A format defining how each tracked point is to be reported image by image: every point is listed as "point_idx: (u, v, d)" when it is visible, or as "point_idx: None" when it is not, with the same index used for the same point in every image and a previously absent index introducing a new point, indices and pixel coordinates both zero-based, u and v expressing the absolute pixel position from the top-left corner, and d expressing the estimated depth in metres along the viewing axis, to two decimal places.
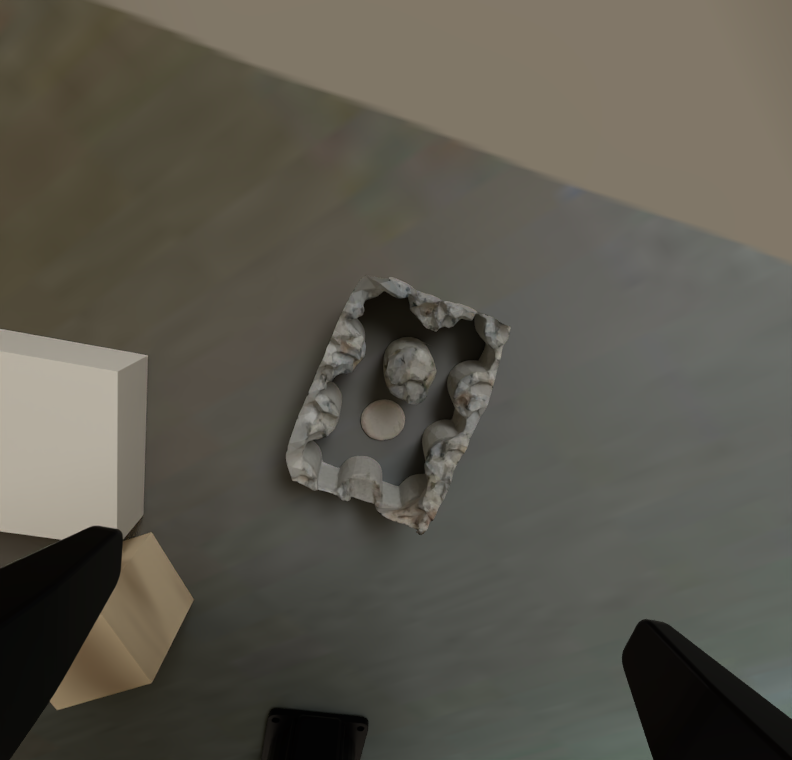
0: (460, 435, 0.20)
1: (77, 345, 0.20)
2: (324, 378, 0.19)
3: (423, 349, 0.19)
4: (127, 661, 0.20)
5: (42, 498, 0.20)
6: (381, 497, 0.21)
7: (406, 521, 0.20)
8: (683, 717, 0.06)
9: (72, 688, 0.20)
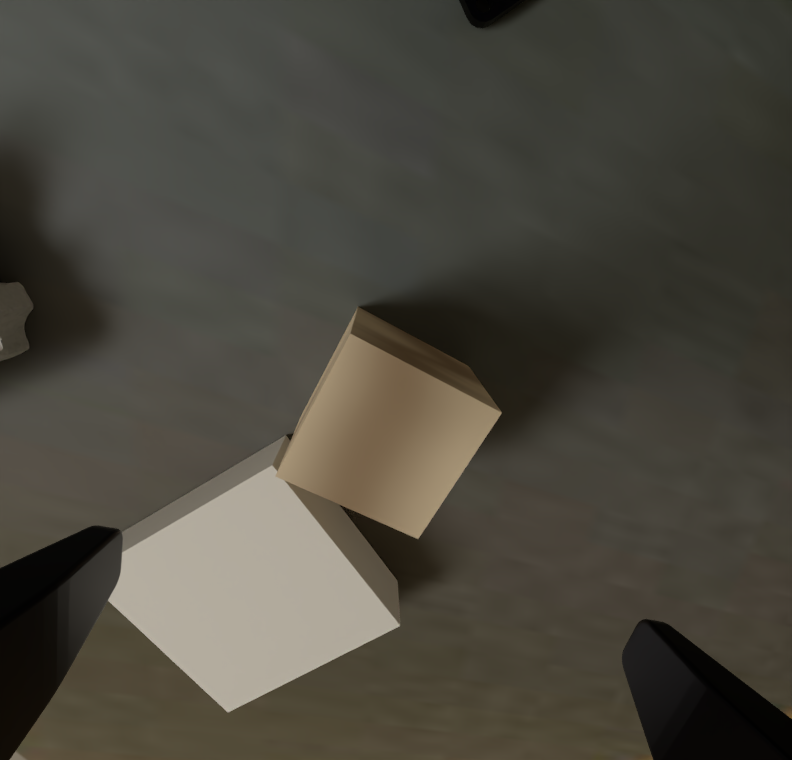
0: None
1: None
2: None
3: None
4: (335, 388, 0.12)
5: (277, 554, 0.17)
6: None
7: None
8: (683, 717, 0.06)
9: (443, 419, 0.13)
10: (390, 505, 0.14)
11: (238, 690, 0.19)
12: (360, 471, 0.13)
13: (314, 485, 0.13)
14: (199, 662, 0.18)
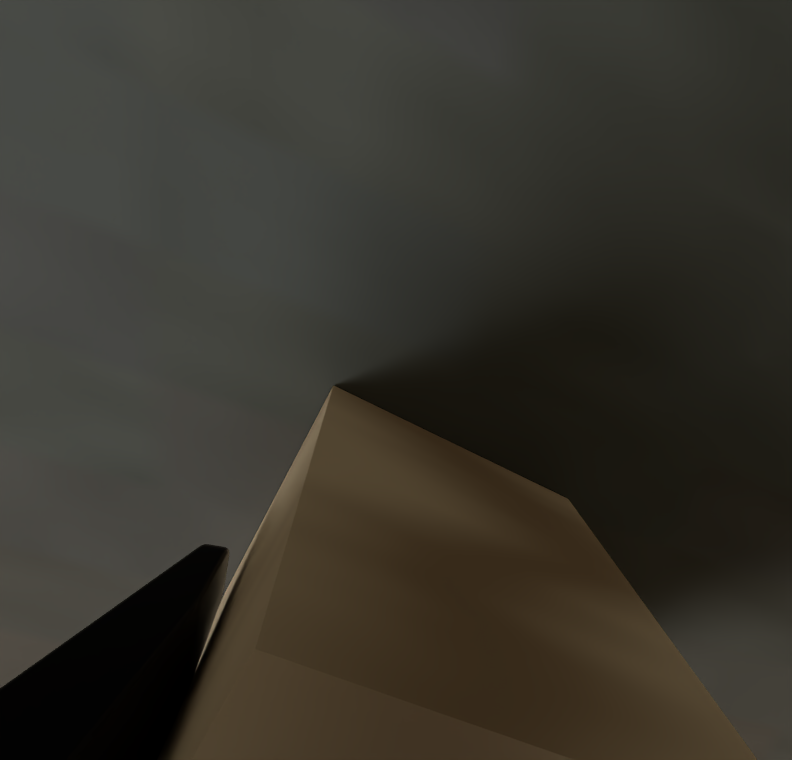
0: None
1: None
2: None
3: None
4: None
5: None
6: None
7: None
8: None
9: None
10: None
11: None
12: None
13: None
14: None
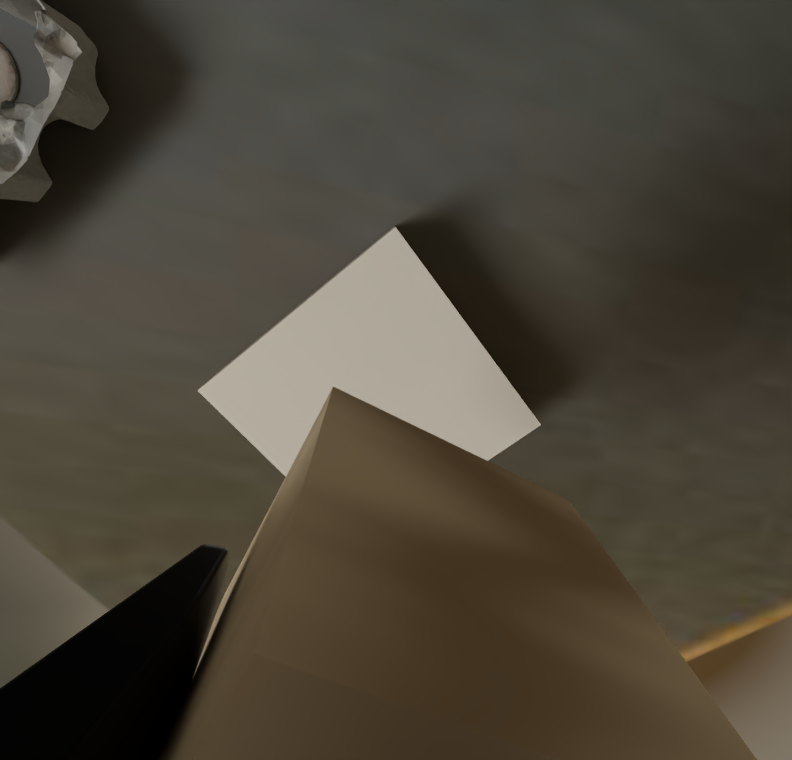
0: None
1: None
2: None
3: None
4: None
5: (404, 344, 0.15)
6: None
7: None
8: None
9: None
10: None
11: None
12: None
13: None
14: None
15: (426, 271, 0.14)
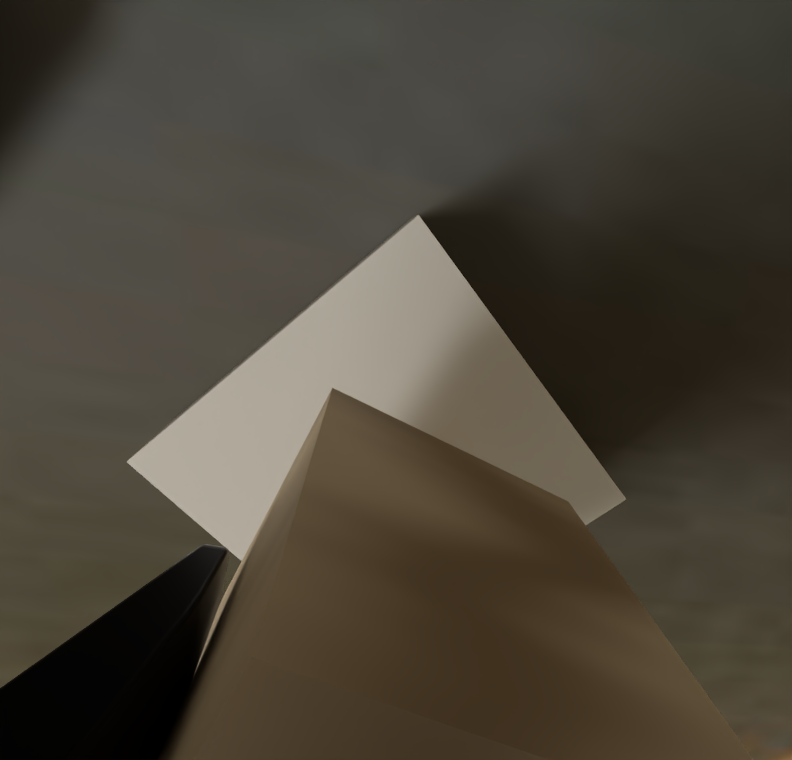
0: None
1: None
2: None
3: None
4: None
5: (431, 390, 0.10)
6: None
7: None
8: None
9: None
10: None
11: None
12: None
13: None
14: None
15: (465, 282, 0.10)
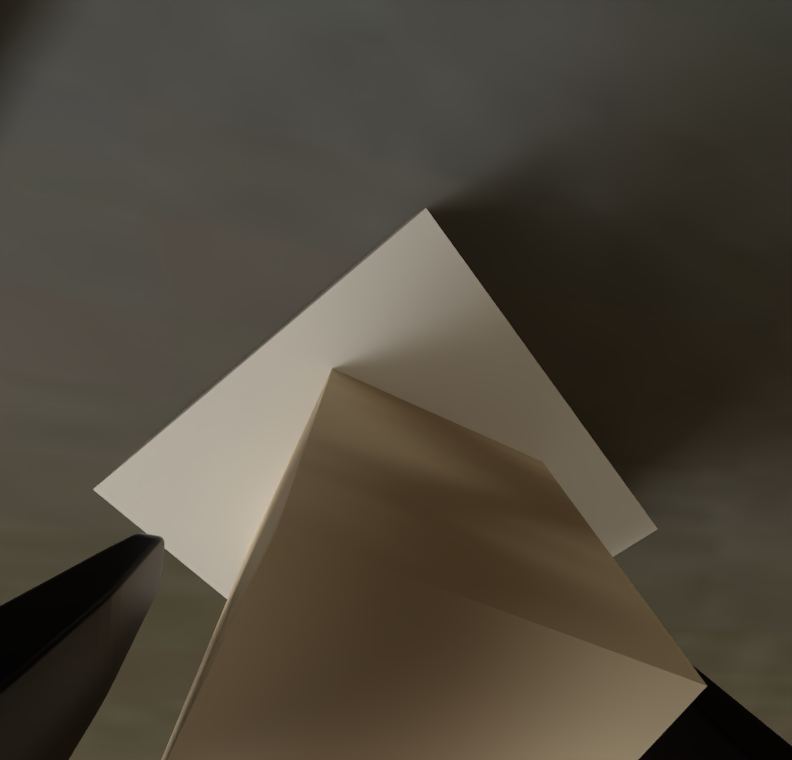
0: None
1: None
2: None
3: None
4: (252, 661, 0.04)
5: (439, 408, 0.09)
6: None
7: None
8: None
9: (549, 710, 0.05)
10: None
11: None
12: None
13: None
14: None
15: (479, 286, 0.08)
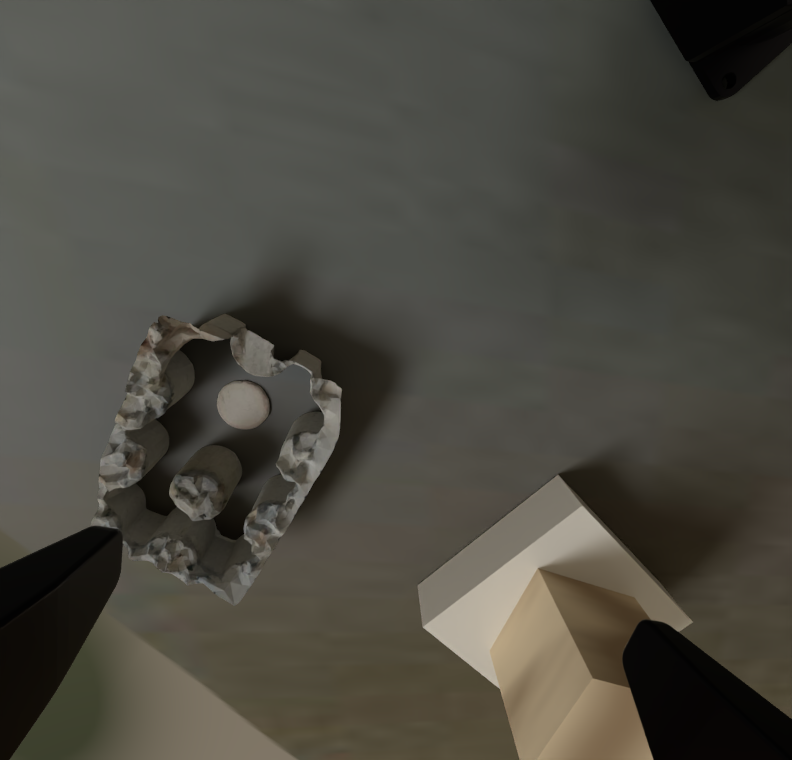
0: (128, 429, 0.16)
1: None
2: (290, 500, 0.18)
3: None
4: (578, 713, 0.15)
5: (585, 579, 0.19)
6: (231, 343, 0.16)
7: (187, 323, 0.15)
8: (683, 717, 0.06)
9: None
10: None
11: None
12: None
13: None
14: None
15: (605, 530, 0.18)
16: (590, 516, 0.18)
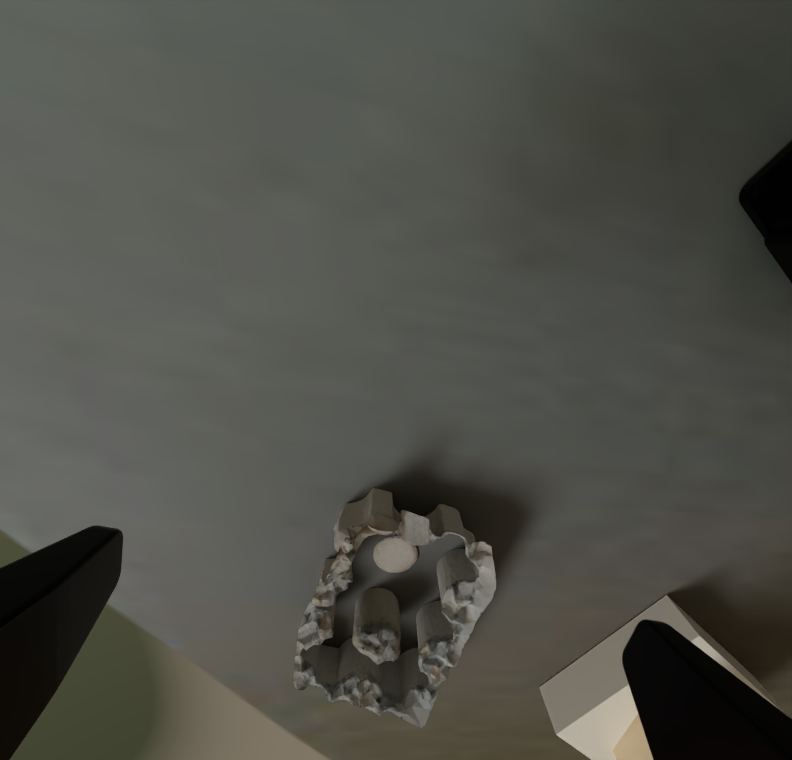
0: None
1: None
2: None
3: None
4: None
5: None
6: None
7: (365, 525, 0.18)
8: (683, 717, 0.06)
9: None
10: None
11: None
12: None
13: None
14: None
15: (717, 654, 0.21)
16: (705, 643, 0.21)
